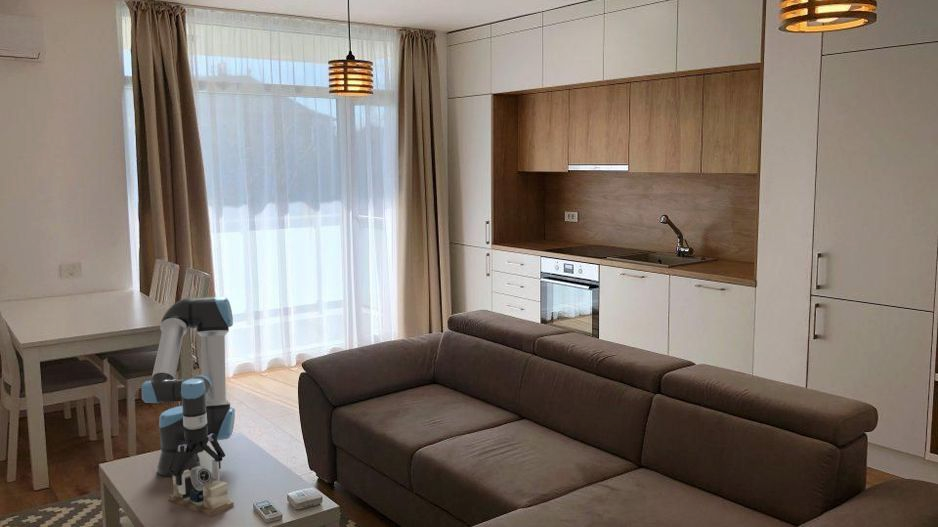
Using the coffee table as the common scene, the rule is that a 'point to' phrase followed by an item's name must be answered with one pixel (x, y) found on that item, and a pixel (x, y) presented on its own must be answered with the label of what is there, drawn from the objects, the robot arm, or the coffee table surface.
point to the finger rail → (200, 508)
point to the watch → (199, 482)
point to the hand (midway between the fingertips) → (199, 486)
